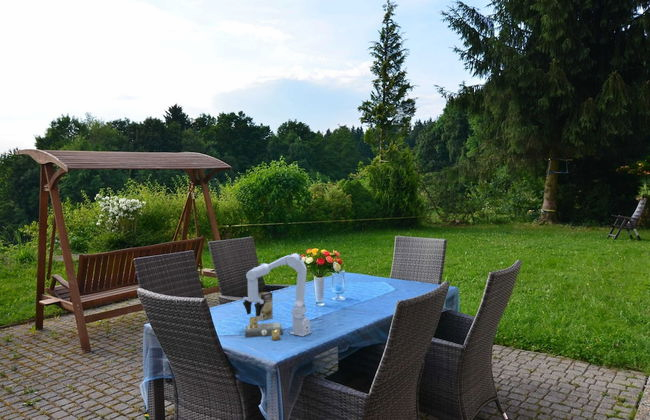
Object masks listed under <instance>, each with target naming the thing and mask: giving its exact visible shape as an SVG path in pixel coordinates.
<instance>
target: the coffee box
mask: <svg viewBox="0 0 650 420" xmlns="http://www.w3.org/2000/svg"><path fill="white" fill-rule="evenodd" d="M258 297H259V299H262V300H264V305H263V307H262V310H261V313H260V316H256V315H255V317H258V321H259V322H260V321H262V322H263V321H267V320H270V319H273V317H274V313H273V312H274V311H273V310H274V309H273V307H274V306H273V292H270V291H262V292H258ZM254 304H257V303H255V302H254ZM254 308H255V307H254ZM255 311H256V308H255Z"/></svg>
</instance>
